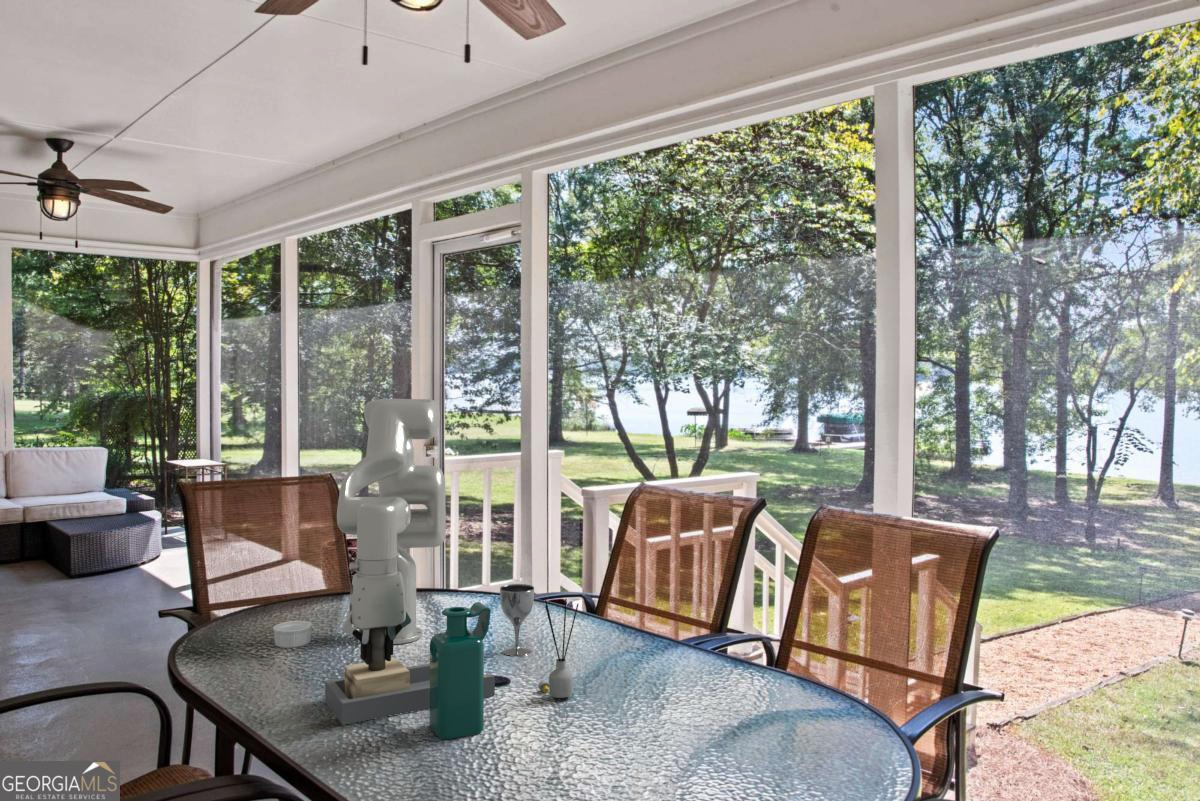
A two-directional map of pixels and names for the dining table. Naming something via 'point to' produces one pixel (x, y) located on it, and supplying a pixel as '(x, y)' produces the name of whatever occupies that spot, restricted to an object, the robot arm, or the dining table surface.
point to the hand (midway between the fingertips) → (376, 660)
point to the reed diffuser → (559, 668)
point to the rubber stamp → (376, 671)
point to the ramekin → (292, 634)
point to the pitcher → (458, 674)
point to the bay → (387, 697)
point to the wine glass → (516, 611)
